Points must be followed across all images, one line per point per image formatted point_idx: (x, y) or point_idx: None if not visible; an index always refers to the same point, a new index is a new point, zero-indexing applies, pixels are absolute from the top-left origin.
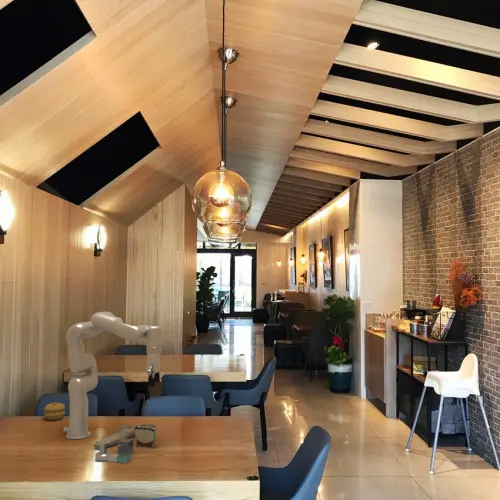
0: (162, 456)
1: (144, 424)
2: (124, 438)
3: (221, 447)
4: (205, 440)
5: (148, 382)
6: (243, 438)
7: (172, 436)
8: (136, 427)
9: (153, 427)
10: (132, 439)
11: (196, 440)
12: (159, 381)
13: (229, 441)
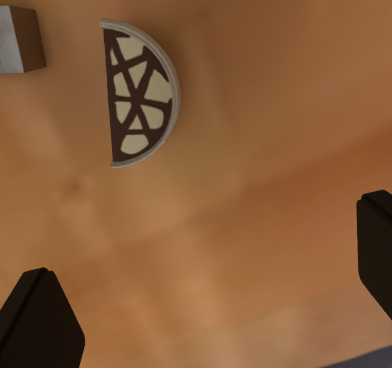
0: (57, 208)
1: (163, 65)
2: (9, 11)
3: (218, 331)
4: (277, 265)
5: (2, 320)
6: (320, 352)
7: (302, 129)
8: (108, 35)
9: (149, 136)
10: (18, 70)
11: (270, 238)
12: (370, 287)
13: (282, 330)
